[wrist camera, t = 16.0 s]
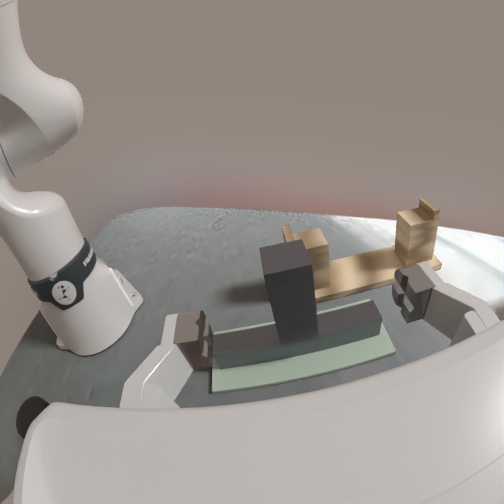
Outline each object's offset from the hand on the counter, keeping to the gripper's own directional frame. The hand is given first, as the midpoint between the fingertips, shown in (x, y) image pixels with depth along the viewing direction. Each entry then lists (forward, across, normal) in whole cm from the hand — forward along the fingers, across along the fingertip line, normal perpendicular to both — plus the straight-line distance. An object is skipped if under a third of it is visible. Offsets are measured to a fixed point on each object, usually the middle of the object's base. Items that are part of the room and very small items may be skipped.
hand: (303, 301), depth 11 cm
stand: (+22, -12, +20) cm, 32 cm away
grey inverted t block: (+12, 0, +19) cm, 22 cm away
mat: (+12, -1, +20) cm, 23 cm away
